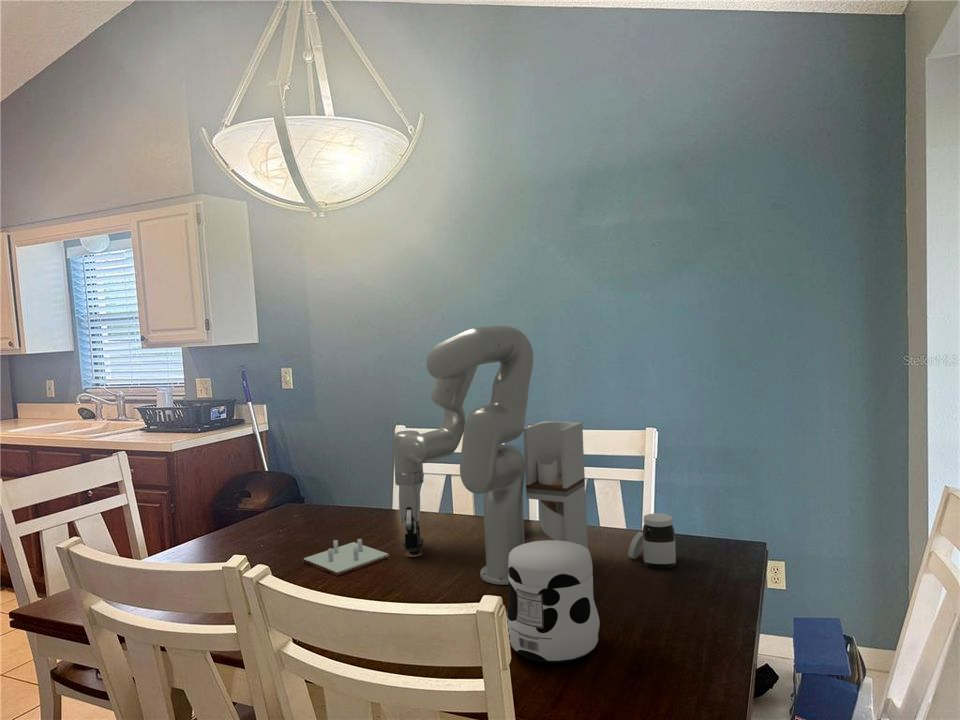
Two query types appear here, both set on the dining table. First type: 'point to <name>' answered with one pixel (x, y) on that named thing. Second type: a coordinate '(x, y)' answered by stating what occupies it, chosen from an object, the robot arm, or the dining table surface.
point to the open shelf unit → (557, 478)
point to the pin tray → (346, 556)
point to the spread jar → (655, 542)
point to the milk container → (552, 601)
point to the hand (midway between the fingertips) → (413, 543)
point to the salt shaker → (420, 542)
